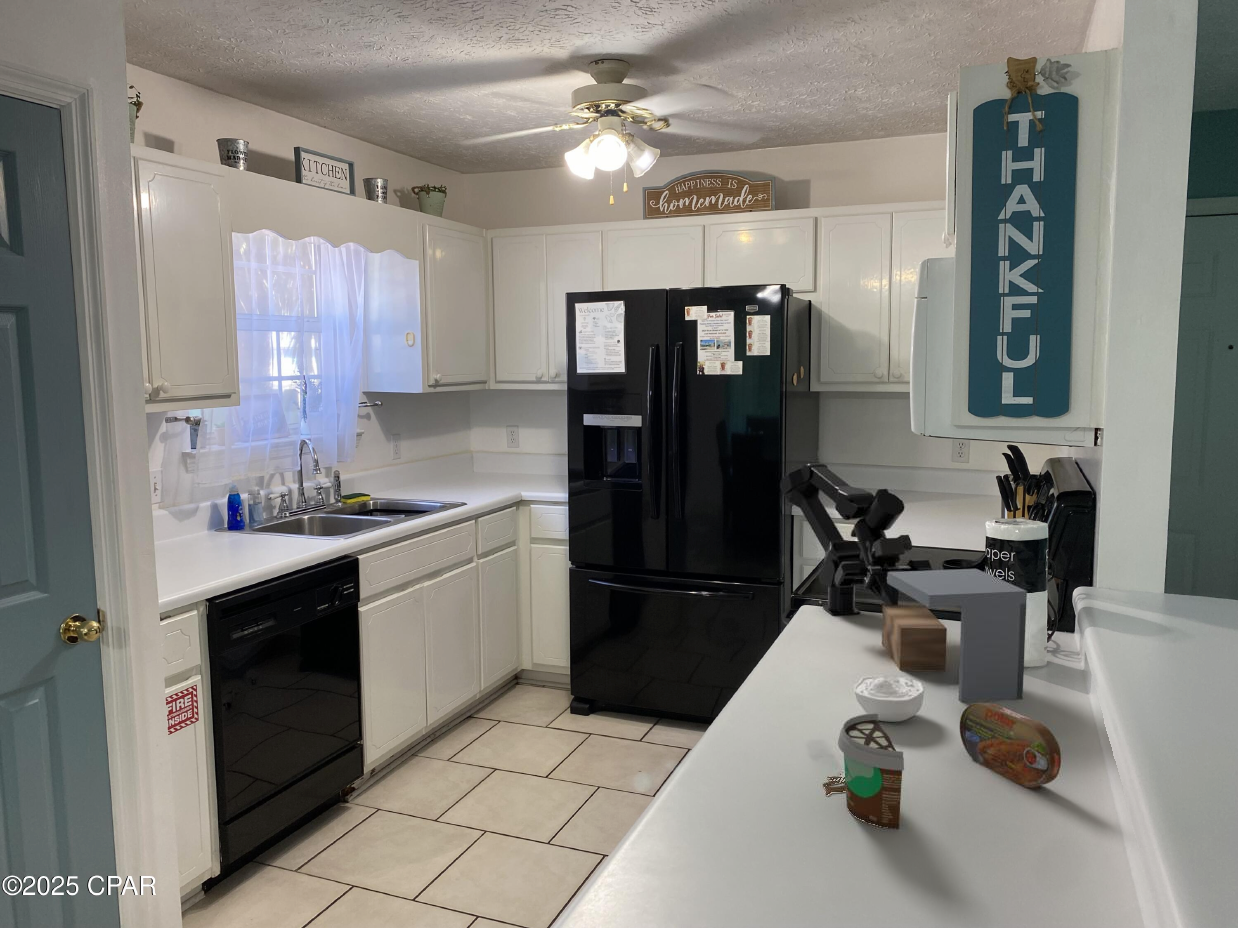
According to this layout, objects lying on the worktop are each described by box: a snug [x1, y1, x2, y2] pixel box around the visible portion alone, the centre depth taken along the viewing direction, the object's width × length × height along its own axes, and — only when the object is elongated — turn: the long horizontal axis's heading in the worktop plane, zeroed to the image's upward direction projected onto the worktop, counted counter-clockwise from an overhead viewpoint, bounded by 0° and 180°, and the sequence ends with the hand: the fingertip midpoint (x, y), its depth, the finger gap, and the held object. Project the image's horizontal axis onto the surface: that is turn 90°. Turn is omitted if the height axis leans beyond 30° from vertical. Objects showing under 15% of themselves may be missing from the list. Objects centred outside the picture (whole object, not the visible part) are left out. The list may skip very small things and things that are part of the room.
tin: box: [959, 702, 1062, 789], centre depth 118 cm, size 15×3×8 cm, turn 23°
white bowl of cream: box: [853, 674, 925, 723], centre depth 137 cm, size 10×12×7 cm
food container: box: [837, 713, 905, 830], centre depth 109 cm, size 12×6×10 cm, turn 178°
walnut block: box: [881, 604, 948, 672], centre depth 165 cm, size 15×8×8 cm, turn 175°
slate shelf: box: [887, 568, 1028, 703], centre depth 150 cm, size 16×16×18 cm
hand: (895, 609), depth 173 cm, fingers closed
